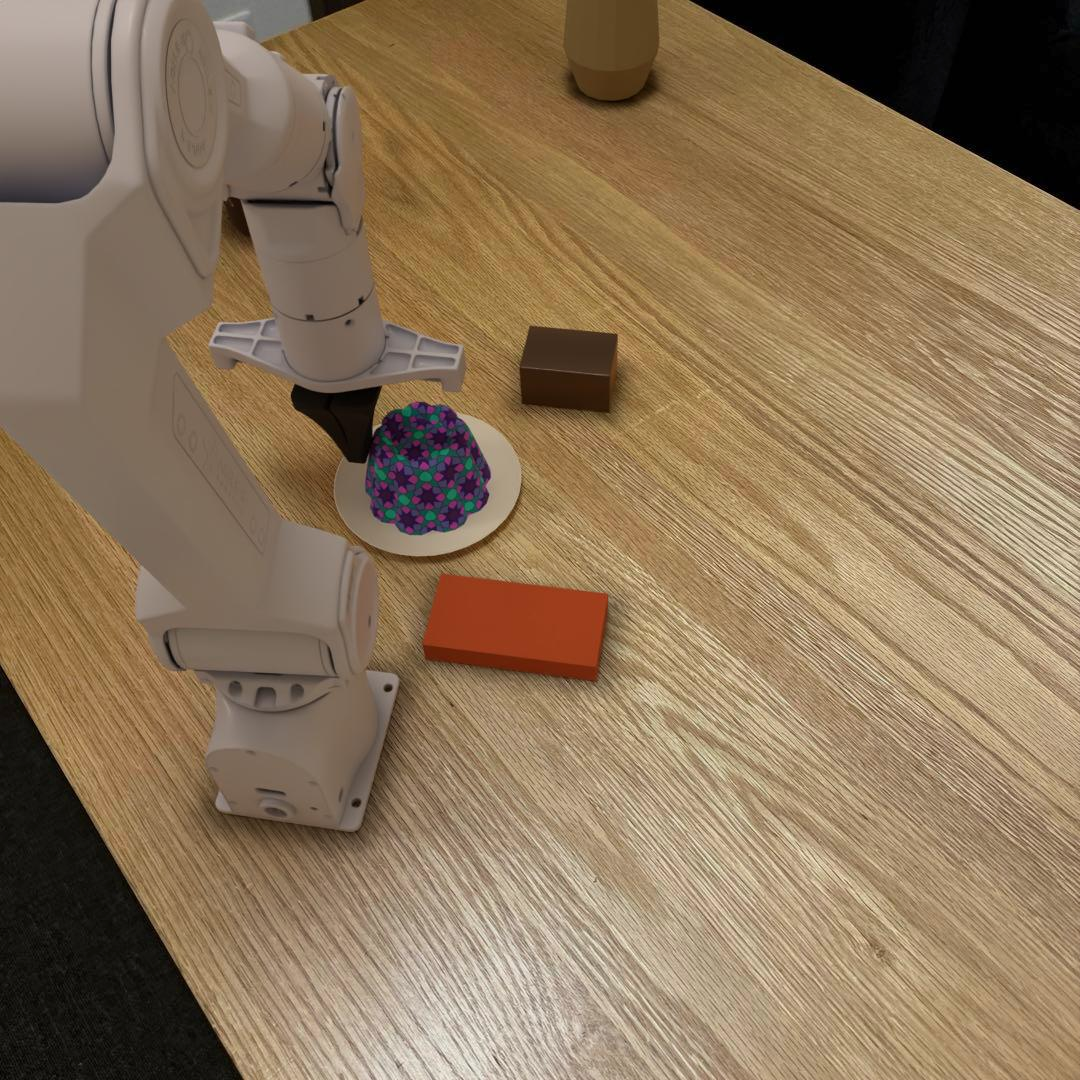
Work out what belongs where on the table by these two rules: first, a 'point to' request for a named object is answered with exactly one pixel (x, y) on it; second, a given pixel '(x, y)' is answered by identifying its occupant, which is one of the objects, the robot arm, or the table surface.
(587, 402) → the walnut block
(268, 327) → the robot arm
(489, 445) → the pudding
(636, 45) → the squeeze bottle
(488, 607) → the flat red block
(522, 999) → the table surface
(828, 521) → the table surface
